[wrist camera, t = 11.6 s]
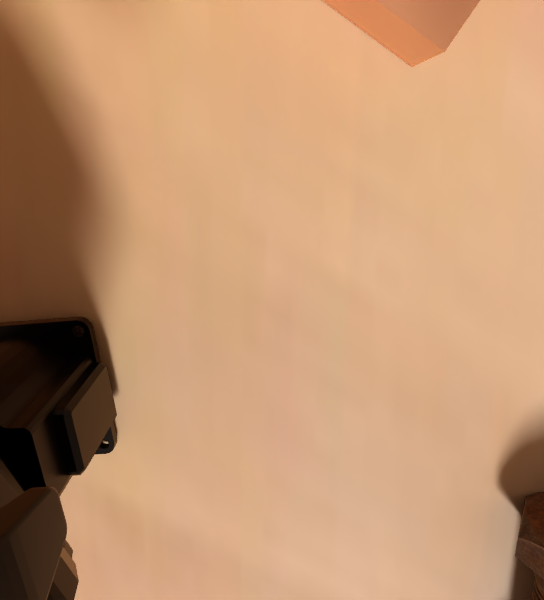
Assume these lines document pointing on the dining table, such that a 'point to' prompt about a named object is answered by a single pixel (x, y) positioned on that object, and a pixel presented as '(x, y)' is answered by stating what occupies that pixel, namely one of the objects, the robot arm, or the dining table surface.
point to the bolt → (533, 541)
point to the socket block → (408, 24)
